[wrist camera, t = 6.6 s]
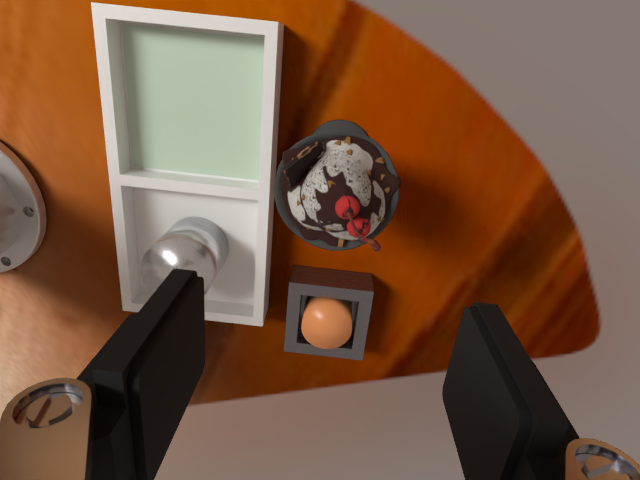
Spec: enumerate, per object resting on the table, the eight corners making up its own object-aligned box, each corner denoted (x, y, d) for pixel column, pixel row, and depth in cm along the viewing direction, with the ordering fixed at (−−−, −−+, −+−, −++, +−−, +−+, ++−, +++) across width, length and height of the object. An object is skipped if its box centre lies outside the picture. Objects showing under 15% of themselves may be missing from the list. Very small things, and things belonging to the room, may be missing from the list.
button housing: (288, 330, 39) (283, 351, 36) (293, 264, 36) (289, 282, 33) (361, 338, 39) (362, 360, 36) (371, 273, 36) (373, 291, 33)
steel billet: (168, 269, 36) (142, 301, 31) (166, 212, 34) (137, 238, 29) (228, 276, 36) (211, 308, 31) (229, 220, 34) (211, 246, 29)
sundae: (387, 191, 33) (417, 288, 19) (301, 200, 34) (270, 300, 20) (382, 102, 31) (411, 141, 17) (289, 113, 31) (243, 159, 17)
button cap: (302, 328, 37) (299, 346, 35) (306, 288, 35) (303, 303, 33) (348, 333, 37) (348, 351, 35) (354, 293, 35) (355, 309, 33)
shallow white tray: (137, 293, 38) (122, 310, 35) (113, 6, 29) (91, 2, 26) (268, 308, 38) (262, 326, 35) (284, 24, 29) (278, 21, 26)
